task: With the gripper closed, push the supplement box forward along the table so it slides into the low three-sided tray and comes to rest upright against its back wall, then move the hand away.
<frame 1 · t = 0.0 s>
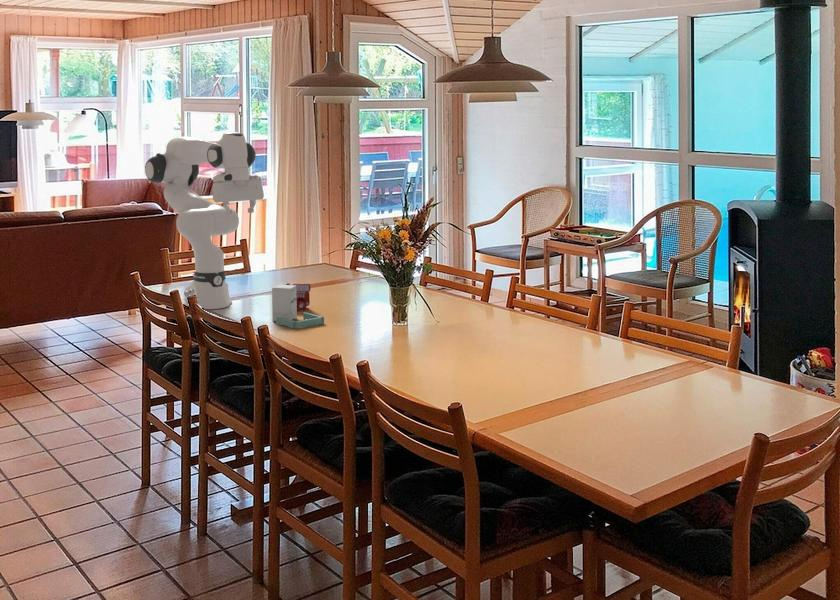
hand: (240, 213, 349), 39 cm above the table, tool pointing down, fingers open, 8 cm apart
toy fire truck: (295, 309, 369), on the table
supplement box: (284, 320, 351), on the table
tray: (300, 323, 343), on the table
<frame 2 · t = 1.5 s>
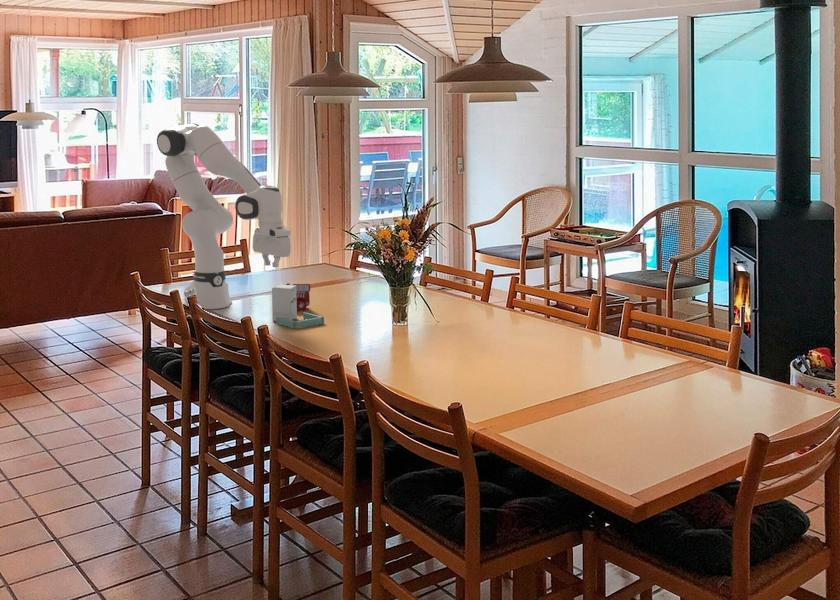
hand: (271, 266, 353), 19 cm above the table, tool pointing down, fingers open, 4 cm apart
nothing on the table moved.
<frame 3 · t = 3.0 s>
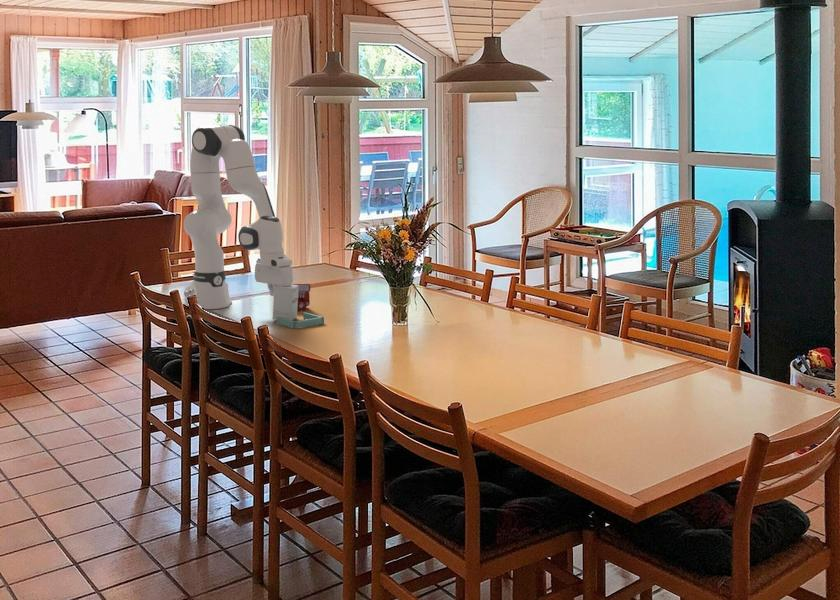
hand: (274, 295, 354), 8 cm above the table, tool pointing down, fingers closed
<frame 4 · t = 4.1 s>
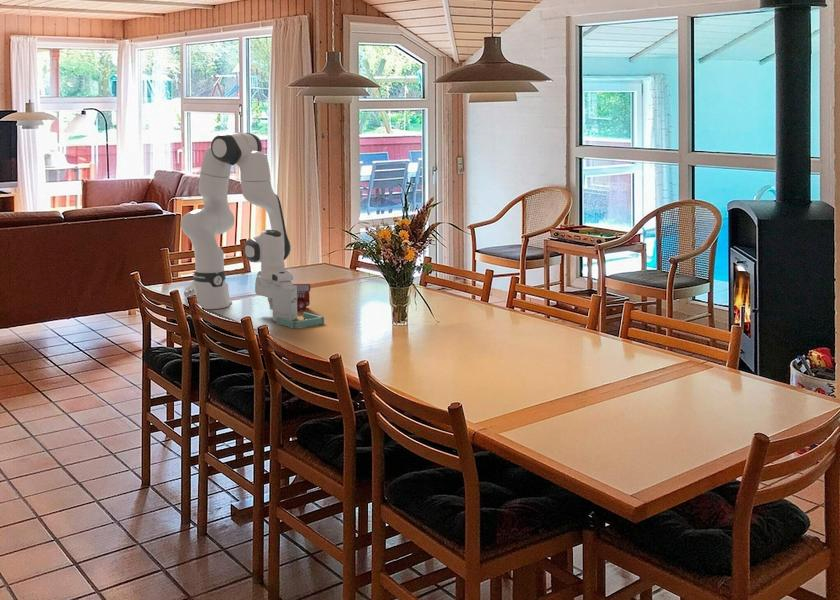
hand: (273, 309, 355), 3 cm above the table, tool pointing down, fingers closed
supplement box: (285, 320, 350), on the table, touching gripper
everything else where it was.
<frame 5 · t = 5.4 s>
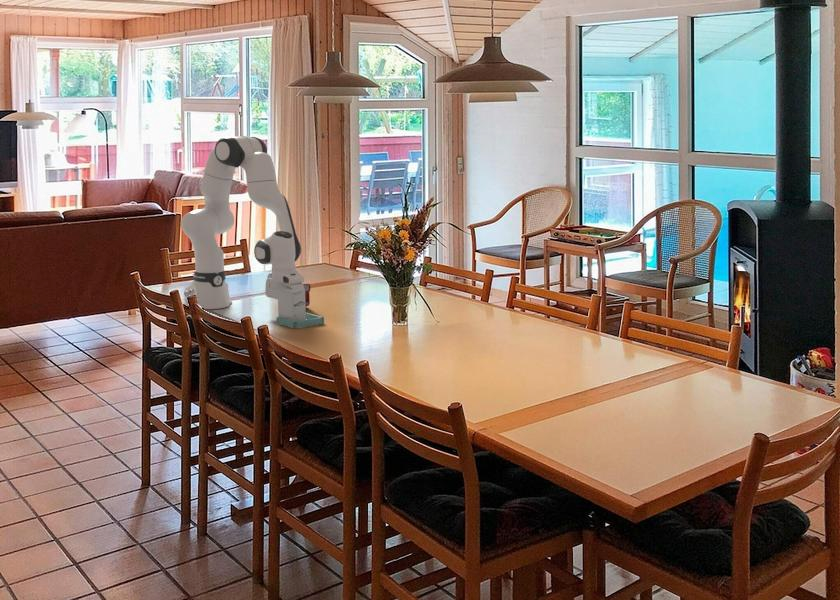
hand: (284, 312, 350), 3 cm above the table, tool pointing down, fingers closed
supplement box: (292, 323, 345), on the table, touching gripper
everything else where it was.
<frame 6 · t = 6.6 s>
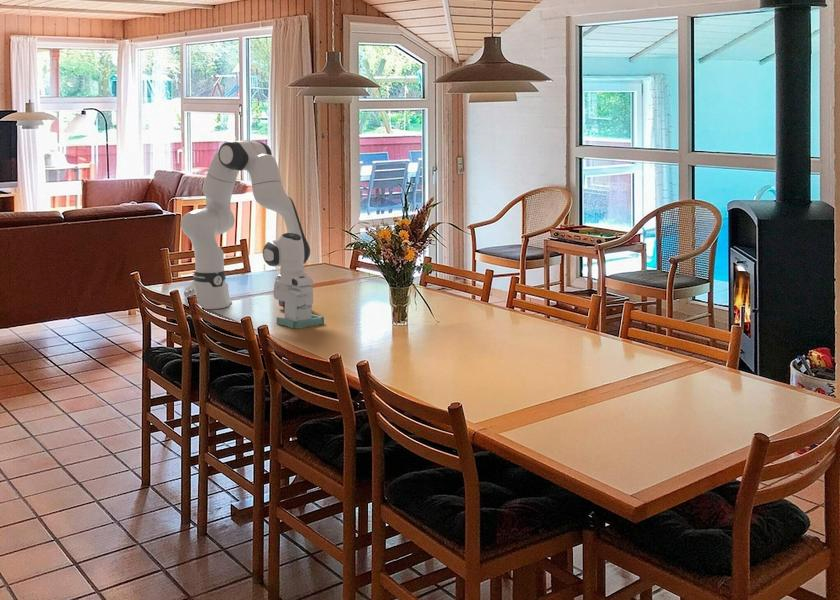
hand: (293, 314, 346), 3 cm above the table, tool pointing down, fingers closed
supplement box: (297, 324, 342), on the table, touching gripper, tray
everything else where it was.
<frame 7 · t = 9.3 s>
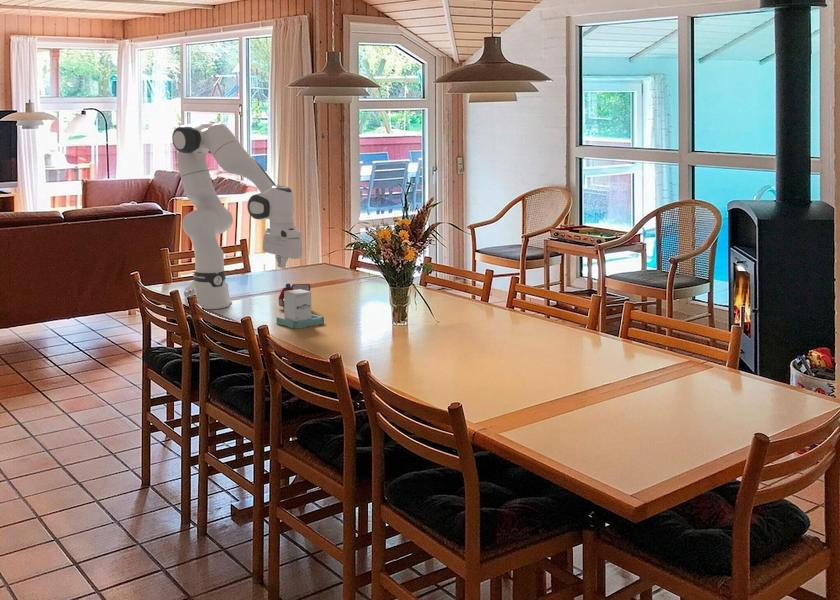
hand: (281, 267, 348), 20 cm above the table, tool pointing down, fingers closed
supplement box: (298, 325, 342), on the table
everything else where it was.
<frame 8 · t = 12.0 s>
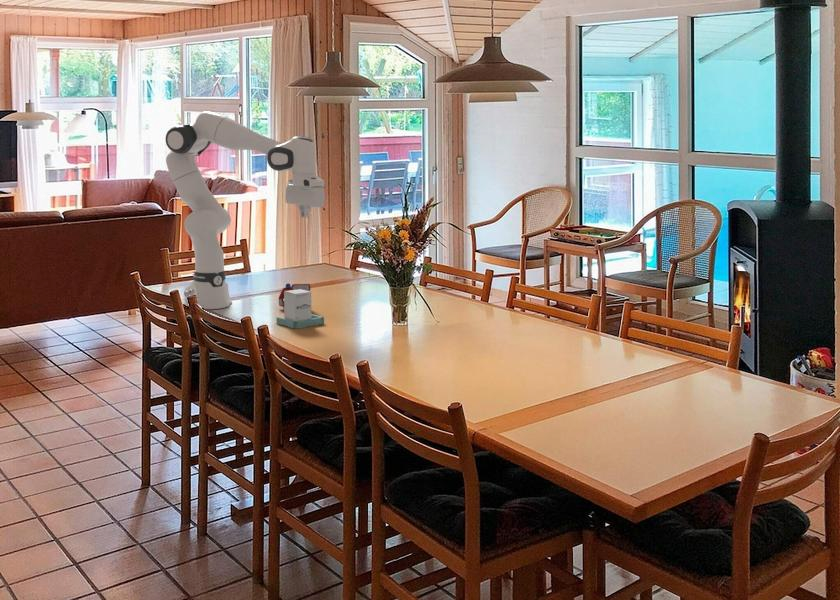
hand: (304, 217, 353), 37 cm above the table, tool pointing down, fingers closed
nothing on the table moved.
at the end: supplement box inside the target area on the tray (2.2 cm from its centre), point 0.0 cm above the tray's base; supplement box tilted 0°; supplement box moved 10.9 cm from its start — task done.
